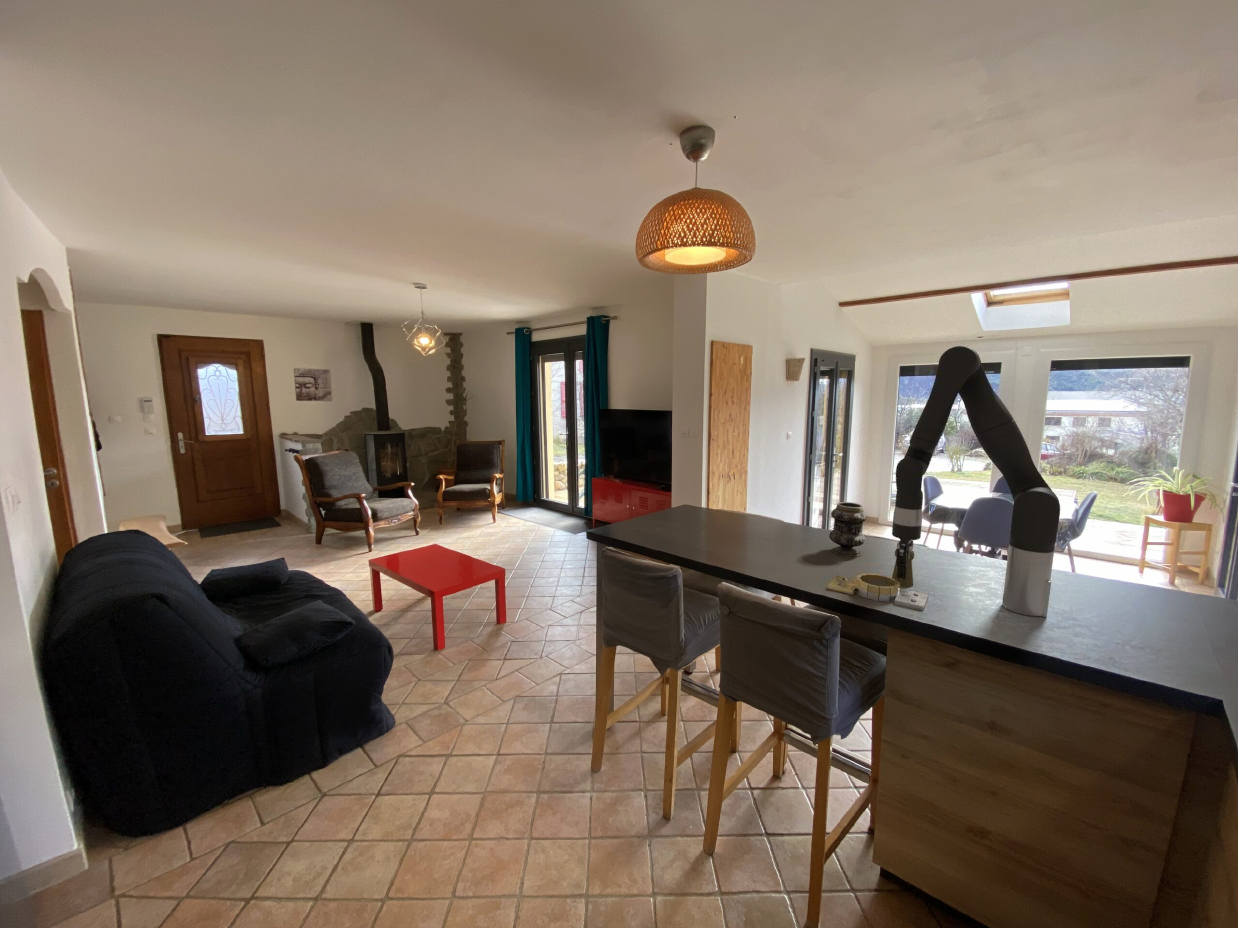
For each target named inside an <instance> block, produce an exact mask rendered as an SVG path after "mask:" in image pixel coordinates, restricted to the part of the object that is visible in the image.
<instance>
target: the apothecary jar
mask: <svg viewBox="0 0 1238 928" xmlns="http://www.w3.org/2000/svg"><path fill="white" fill-rule="evenodd" d="M835 507H836V508H834V509H832V511H831V512H830V514H831V517H832V519H834V522H833V528H832V530H831V531H830V532H829V534H828V537H829V539H830V540H831V541H832V542H833V543H834V544H836V545H838V546H835V547H833V548H832V549H831V552H832V553H834V554H836V555H839V556H844V557H860V556H861V555H862V552H861V551H860V550H858V549H857V548H855V547H860V546H863V544H865V542H866V536H865V535H864V534H863V525H864V522H866V520H867V519H868V515H867V513H866V512H865V511H864V508H863V507H864V506H863V505H862V504H860V503H856V502H850V501H839V502H838V503H837V504H836V506H835Z"/></svg>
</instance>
